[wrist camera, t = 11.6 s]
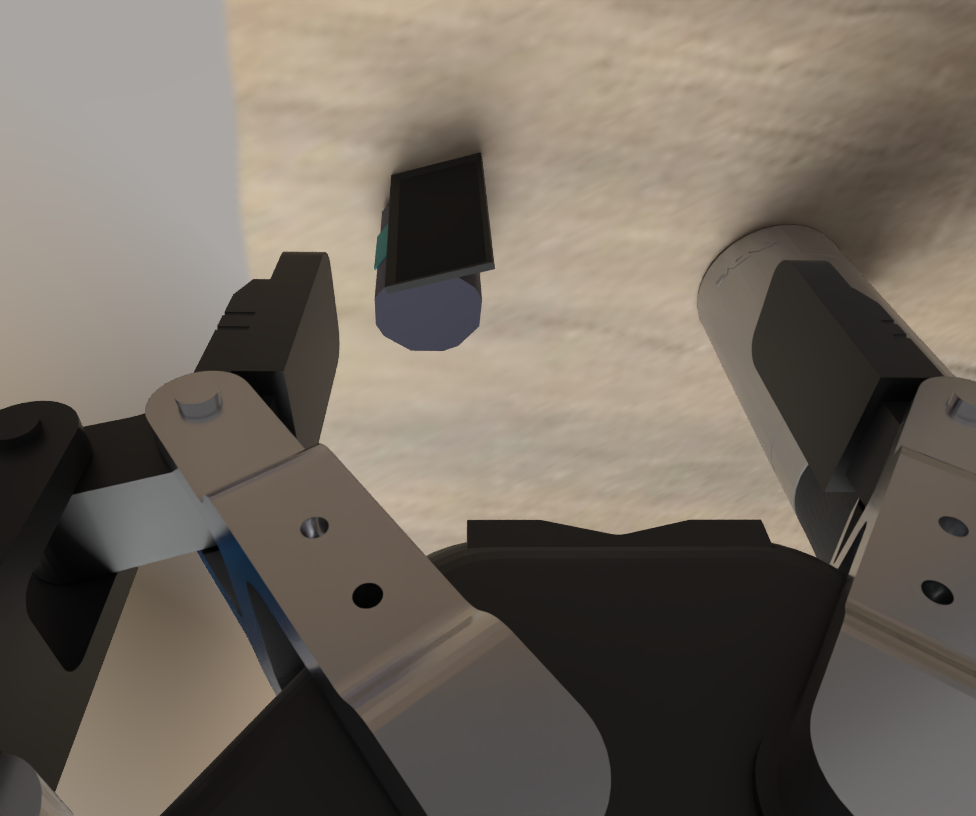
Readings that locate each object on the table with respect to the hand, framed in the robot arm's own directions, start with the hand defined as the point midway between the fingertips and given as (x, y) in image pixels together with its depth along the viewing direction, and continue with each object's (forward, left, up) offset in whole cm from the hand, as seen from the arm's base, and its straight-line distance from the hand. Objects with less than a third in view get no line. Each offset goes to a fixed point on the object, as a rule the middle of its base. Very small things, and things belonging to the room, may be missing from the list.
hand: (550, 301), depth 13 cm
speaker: (-6, +10, -28) cm, 31 cm away
